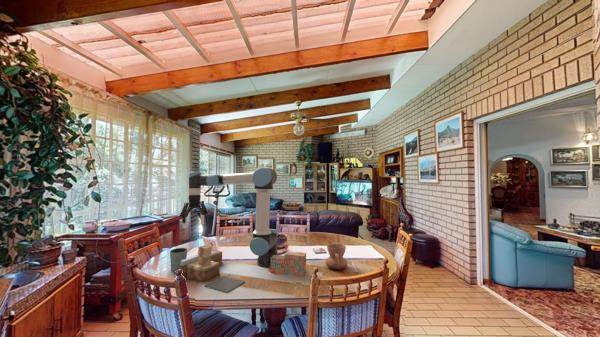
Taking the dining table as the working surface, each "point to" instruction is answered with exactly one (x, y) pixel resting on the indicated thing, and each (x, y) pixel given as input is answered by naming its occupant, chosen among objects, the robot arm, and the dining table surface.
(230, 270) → the dining table surface
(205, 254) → the lid
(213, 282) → the mat
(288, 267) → the brown patterned box
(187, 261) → the light grey bar
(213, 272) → the brown wooden open box
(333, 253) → the ceramic jug
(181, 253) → the grey cup
